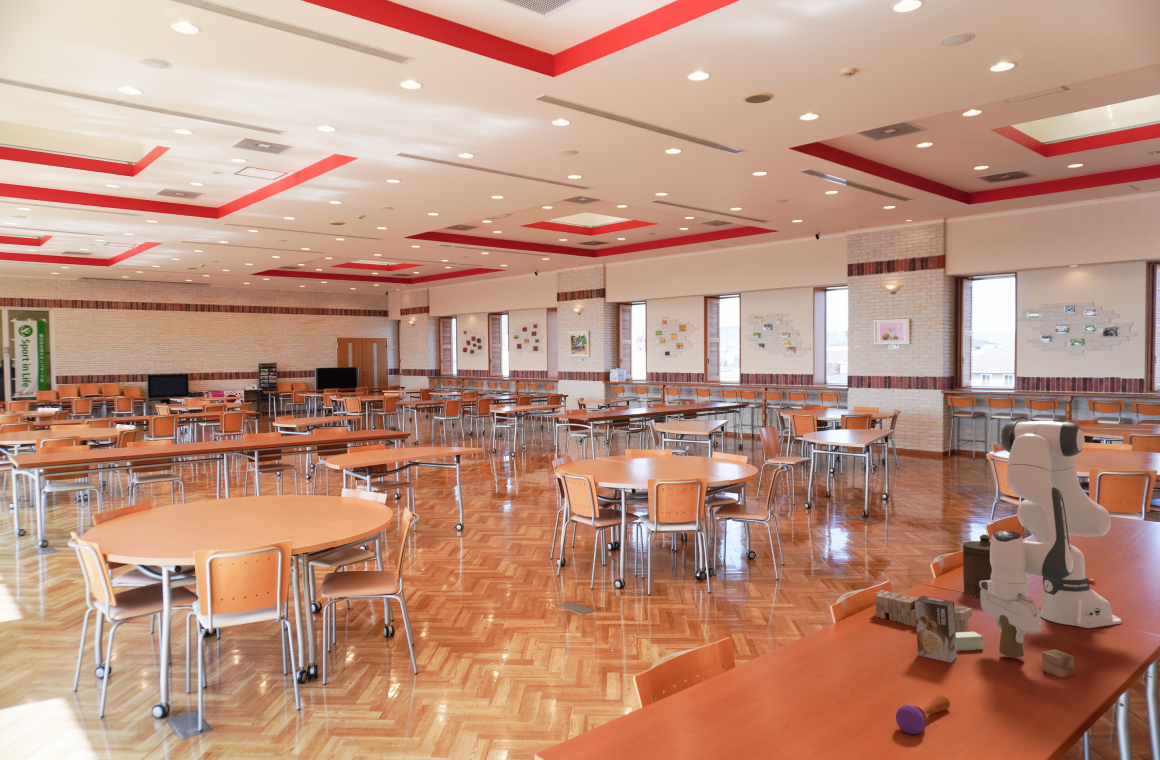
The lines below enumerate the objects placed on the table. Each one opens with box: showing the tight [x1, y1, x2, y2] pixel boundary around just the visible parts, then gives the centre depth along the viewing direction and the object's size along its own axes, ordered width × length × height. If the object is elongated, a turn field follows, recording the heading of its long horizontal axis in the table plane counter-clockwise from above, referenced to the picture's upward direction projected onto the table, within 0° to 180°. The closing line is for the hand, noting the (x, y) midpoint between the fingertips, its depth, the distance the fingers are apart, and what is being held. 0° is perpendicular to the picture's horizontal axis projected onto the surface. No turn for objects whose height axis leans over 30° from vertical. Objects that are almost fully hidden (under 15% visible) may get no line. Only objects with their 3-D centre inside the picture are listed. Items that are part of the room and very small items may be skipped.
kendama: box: [895, 694, 951, 735], centre depth 161 cm, size 6×6×20 cm
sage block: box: [956, 631, 984, 652], centre depth 205 cm, size 8×4×4 cm, turn 95°
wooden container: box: [962, 533, 992, 598], centre depth 255 cm, size 15×15×22 cm
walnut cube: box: [1041, 649, 1075, 678], centre depth 186 cm, size 5×5×5 cm
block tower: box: [874, 589, 973, 632], centre depth 225 cm, size 8×8×29 cm
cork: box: [998, 615, 1025, 658], centre depth 195 cm, size 6×6×11 cm
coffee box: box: [915, 595, 958, 664], centre depth 199 cm, size 9×6×16 cm
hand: (1011, 637), depth 196 cm, fingers closed on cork, 5 cm apart
